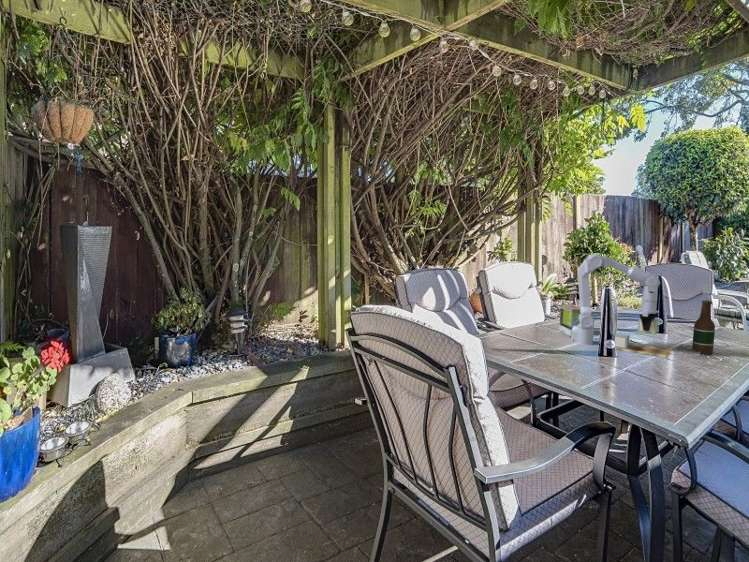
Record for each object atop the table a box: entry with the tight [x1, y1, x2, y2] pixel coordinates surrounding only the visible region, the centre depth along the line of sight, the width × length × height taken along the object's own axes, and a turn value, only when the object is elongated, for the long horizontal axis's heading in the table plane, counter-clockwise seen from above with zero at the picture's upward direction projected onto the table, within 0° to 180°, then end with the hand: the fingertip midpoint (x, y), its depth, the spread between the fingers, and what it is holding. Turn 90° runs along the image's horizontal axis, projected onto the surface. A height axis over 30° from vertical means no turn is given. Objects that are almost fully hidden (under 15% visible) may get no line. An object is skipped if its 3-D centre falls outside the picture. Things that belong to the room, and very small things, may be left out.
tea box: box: [559, 304, 580, 337], centre depth 240 cm, size 15×10×15 cm
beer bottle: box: [691, 300, 716, 356], centre depth 203 cm, size 8×8×24 cm
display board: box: [615, 342, 673, 359], centre depth 206 cm, size 24×18×3 cm
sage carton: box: [637, 317, 659, 336], centre depth 207 cm, size 7×5×6 cm, turn 48°
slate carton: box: [615, 332, 631, 349], centre depth 207 cm, size 7×5×6 cm, turn 48°
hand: (647, 329), depth 207 cm, fingers closed on sage carton, 5 cm apart
